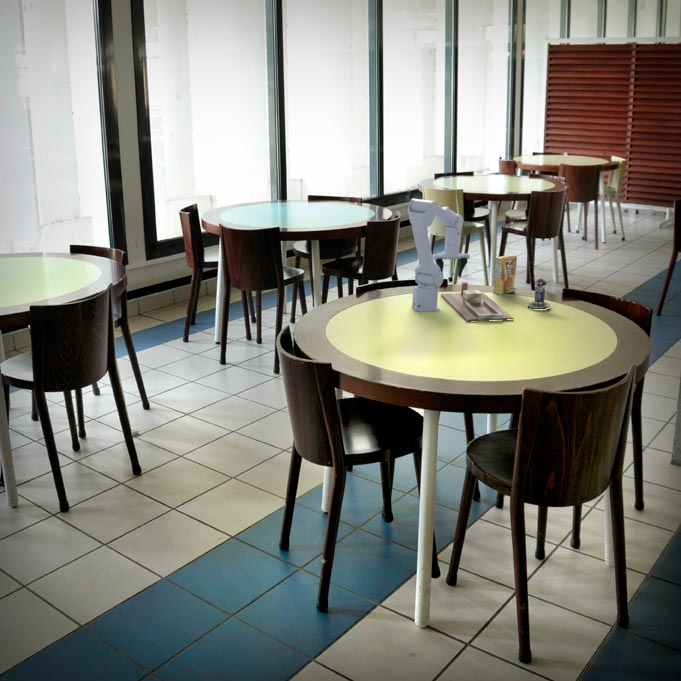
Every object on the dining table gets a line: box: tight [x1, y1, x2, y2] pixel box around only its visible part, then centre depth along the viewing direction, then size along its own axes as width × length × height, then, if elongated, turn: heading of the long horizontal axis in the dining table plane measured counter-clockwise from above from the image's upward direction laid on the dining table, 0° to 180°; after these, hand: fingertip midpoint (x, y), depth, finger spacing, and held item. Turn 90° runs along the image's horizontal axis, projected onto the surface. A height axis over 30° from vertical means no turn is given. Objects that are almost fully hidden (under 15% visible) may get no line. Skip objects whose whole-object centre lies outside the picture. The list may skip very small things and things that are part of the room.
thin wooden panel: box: [440, 292, 514, 323], centre depth 331 cm, size 18×36×2 cm, turn 9°
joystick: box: [460, 281, 483, 304], centre depth 339 cm, size 6×14×5 cm, turn 9°
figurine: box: [527, 278, 551, 310], centre depth 330 cm, size 8×8×12 cm
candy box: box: [492, 254, 518, 296], centre depth 351 cm, size 9×4×15 cm, turn 129°
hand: (450, 276), depth 339 cm, fingers open, 7 cm apart
